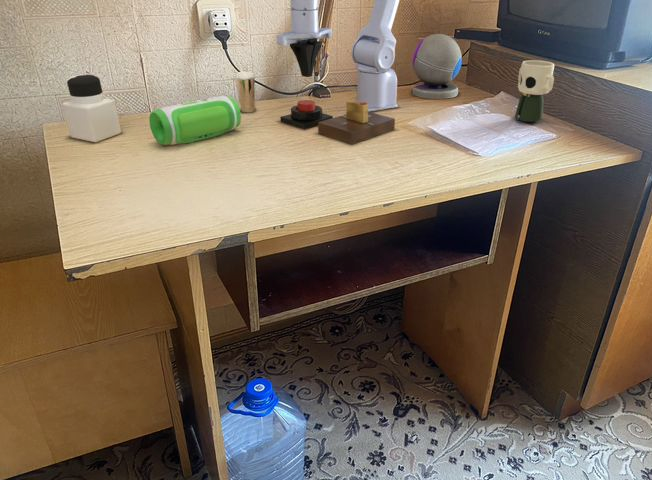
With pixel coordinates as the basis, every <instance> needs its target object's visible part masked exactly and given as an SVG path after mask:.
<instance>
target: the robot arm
mask: <svg viewBox="0 0 652 480" xmlns="http://www.w3.org/2000/svg"><path fill="white" fill-rule="evenodd" d="M289 3H290V22H291V23H290V24H291V30H289V31H286V32H283V33H278V34H276V45H277V46H282V47H285V46H287V45H289V47H290V49H291V51H292V52H293V54H294V57H295V58H296V61H297V64H298V68H299V70H300V75H301V77H305V78H312V77H313V74H314V73H313V72H314V68H315V64H316V60H317V58H318V55H319V52H320V50H321V49H322V47H323V45H322V44H323V43H322V41H320V40H323V39H332V38H333V28H332V27H331V28H330V27H320V26H319V0H290V2H289ZM399 3H400V0H374V3H373V6H372V10H371V13H370V17H369V20H368V24H367V25H365V26H364V27H362V29H360V30H359V34H358V36H357V38H356V40H355V41H354V43H353V44H352V46H351V59H352V61H353V62H354V63H355V69H357V87H356V90H357V94H356V101H358V102H365V103H367V104H368V112H376V111H377V112H378V111H382V110H388V109H393V108H394V109H395V108H398V107H399V105H398V104H397V96H398V95H397V93H398V77H397V74H396V71H395V70H394V69H392V68H391V67H392V66H393V64H394V62H395V57H396V52H395V51H396V44H397V39H396V38H395V36H394V34H393V33H392V27H393V24H394V21H395V17H396V15H397V12H398V11H397V10H398V7H399Z"/></svg>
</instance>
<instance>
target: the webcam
mask: <svg viewBox="0 0 652 480" xmlns="http://www.w3.org/2000/svg"><path fill="white" fill-rule="evenodd" d="M462 62H463V55H462V51H461V49H460V46H459V44H458V43H457V41H456V40H454V39H453V38H452V37H451V36H449V35H447V34H443V33H434V34H430V35H428V36H426V37H424V38H423V39H422V40H421V41H420V42H419V43H418V45H417V47H416V49H415V51H414V54H413V57H412V68H413V71H414V74H415V75H416V77H417V78H418V80H420V81H421V82H422V84H417V85H415V86H413V89H412V95H413V96H416V97H418V98H423V99H435V100H443V99H445V100H446V99H452V98H455V97H457V96H458V94H459V87H458V85H456V84H453V83H452V81H453V80H454V79H455V78H456V77H457V75H458V74H459V72H460V70H461V67H462ZM450 82H451V83H450Z"/></svg>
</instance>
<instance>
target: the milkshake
mask: <svg viewBox="0 0 652 480" xmlns="http://www.w3.org/2000/svg"><path fill="white" fill-rule="evenodd" d="M249 67H250V66H249V64H246V70H245V71H238V72H237V73H235V75H234V79H235V84H236V89H237V96H238V101H239V108H240V112H241V113H254V112H255V110H256V105H255V104H256V102H255V101H256V99H255V98H256V97H255V95H256V94H255V92H256V90H255V83H256V82H255V81H256V80H255V79H256V76H255V74H254V73H253V72H252V71H249Z"/></svg>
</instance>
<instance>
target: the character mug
mask: <svg viewBox="0 0 652 480" xmlns="http://www.w3.org/2000/svg"><path fill="white" fill-rule="evenodd" d="M520 66H521V67H519V70H518V71H519V72H518V77H517V80H518V83H517V88H518V91H519V92H520V93H522V94H521V96H519V101H518V103H517V107H516V111H515V115H514V118H515V119H517V120H518V117H519V121H521V122H528V123H529V122H530V123H533V122H537V121H541V120H543V115H544V100H545V99H544V96H543V95H546V94H548V93H550V92H551V91H552V90H553V87H554V82H555V77H554V71H555V63H553V62H551V61H546V60H538V59H537V60H536V59H527V60H523V61H522V63H521V65H520Z"/></svg>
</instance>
